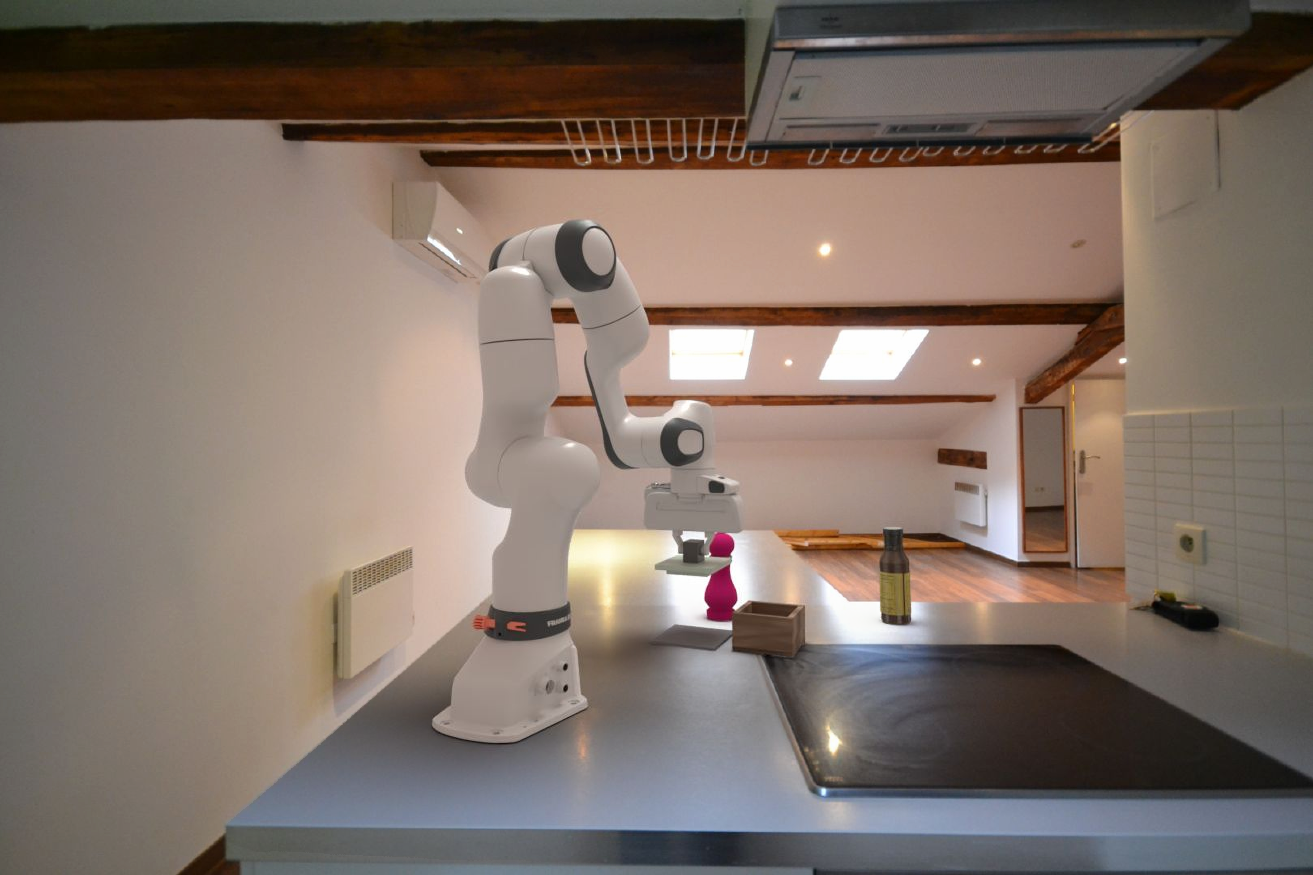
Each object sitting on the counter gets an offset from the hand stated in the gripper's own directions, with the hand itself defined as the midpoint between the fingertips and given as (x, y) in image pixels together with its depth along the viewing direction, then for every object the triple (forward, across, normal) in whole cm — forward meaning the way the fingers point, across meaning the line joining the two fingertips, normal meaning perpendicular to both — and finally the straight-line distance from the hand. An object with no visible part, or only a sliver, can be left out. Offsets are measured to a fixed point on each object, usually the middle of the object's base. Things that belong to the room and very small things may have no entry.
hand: (693, 554), depth 137 cm
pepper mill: (+17, 0, +17) cm, 24 cm away
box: (+16, +15, 0) cm, 22 cm away
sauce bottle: (+17, +35, +28) cm, 48 cm away
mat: (+16, 0, 0) cm, 16 cm away
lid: (+3, 0, 0) cm, 3 cm away
